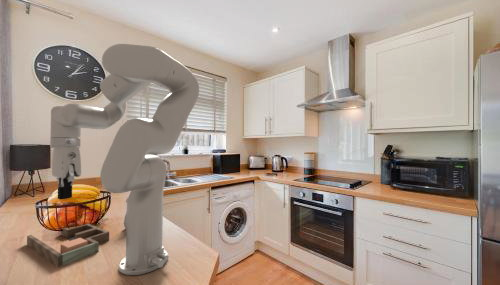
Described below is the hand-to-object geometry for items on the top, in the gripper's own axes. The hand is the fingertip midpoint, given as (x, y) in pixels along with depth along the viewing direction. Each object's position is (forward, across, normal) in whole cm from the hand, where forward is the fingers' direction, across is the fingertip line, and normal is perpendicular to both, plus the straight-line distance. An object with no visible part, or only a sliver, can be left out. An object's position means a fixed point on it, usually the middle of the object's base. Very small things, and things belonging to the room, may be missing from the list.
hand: (64, 198), depth 68 cm
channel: (+17, +2, -3) cm, 17 cm away
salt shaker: (+17, -2, -21) cm, 27 cm away
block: (+17, -7, 0) cm, 18 cm away
